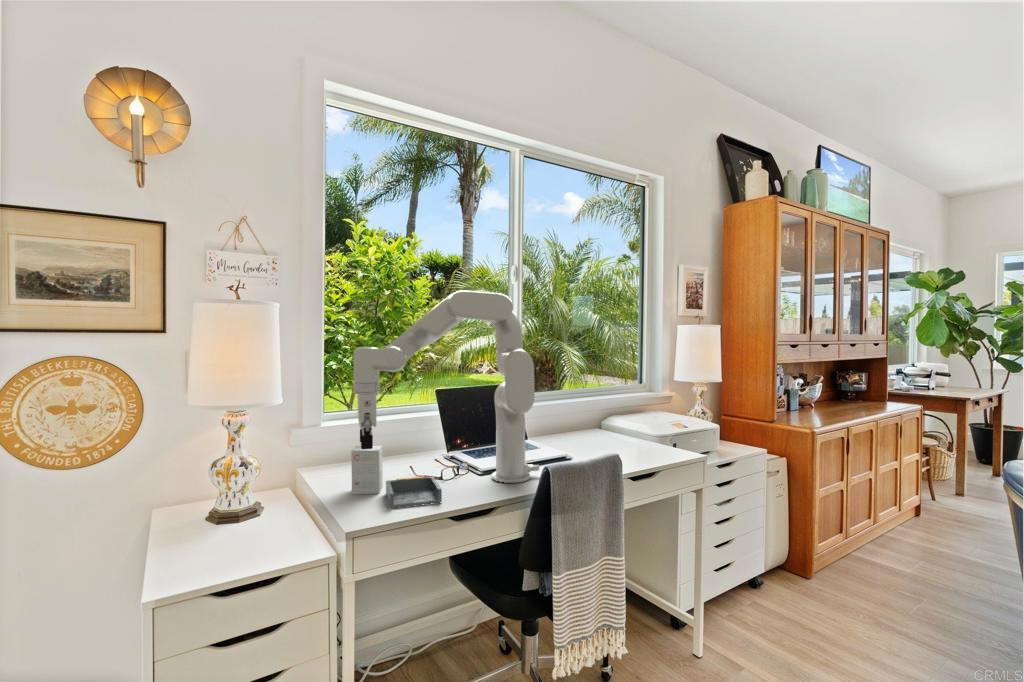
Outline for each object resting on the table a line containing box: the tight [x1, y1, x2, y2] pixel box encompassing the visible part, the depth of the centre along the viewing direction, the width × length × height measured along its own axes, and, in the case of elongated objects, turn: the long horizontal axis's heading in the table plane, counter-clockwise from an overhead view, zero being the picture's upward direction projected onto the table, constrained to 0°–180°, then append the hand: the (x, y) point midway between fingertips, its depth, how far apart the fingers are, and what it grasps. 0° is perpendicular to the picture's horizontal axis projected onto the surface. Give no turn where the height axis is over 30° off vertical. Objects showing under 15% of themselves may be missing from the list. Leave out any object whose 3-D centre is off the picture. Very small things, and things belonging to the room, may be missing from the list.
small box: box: [350, 445, 384, 495], centre depth 152 cm, size 8×6×13 cm
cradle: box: [385, 475, 443, 509], centre depth 145 cm, size 14×13×4 cm
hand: (366, 445), depth 152 cm, fingers open, 9 cm apart
